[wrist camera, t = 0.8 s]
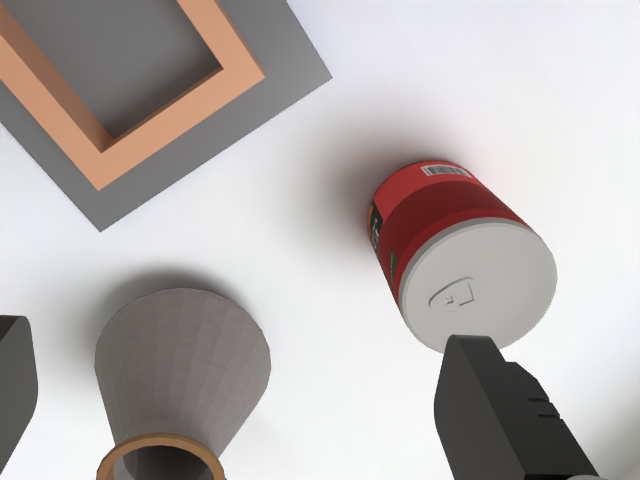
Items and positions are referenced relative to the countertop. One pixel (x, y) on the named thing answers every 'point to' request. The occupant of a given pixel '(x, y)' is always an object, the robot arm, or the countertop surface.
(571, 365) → the countertop surface
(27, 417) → the robot arm
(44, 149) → the dock
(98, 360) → the coffee pot
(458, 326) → the canned food
